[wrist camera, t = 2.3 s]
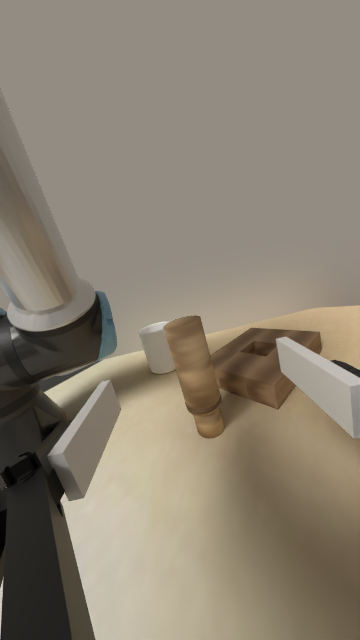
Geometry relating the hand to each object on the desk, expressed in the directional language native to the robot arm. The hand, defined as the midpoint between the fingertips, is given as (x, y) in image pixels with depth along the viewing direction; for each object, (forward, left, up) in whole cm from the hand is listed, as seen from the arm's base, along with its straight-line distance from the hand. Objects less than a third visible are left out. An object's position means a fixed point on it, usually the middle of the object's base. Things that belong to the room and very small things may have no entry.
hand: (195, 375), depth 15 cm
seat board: (-9, +24, -14) cm, 30 cm away
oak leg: (-8, +6, -14) cm, 17 cm away
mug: (-32, +16, -14) cm, 39 cm away
